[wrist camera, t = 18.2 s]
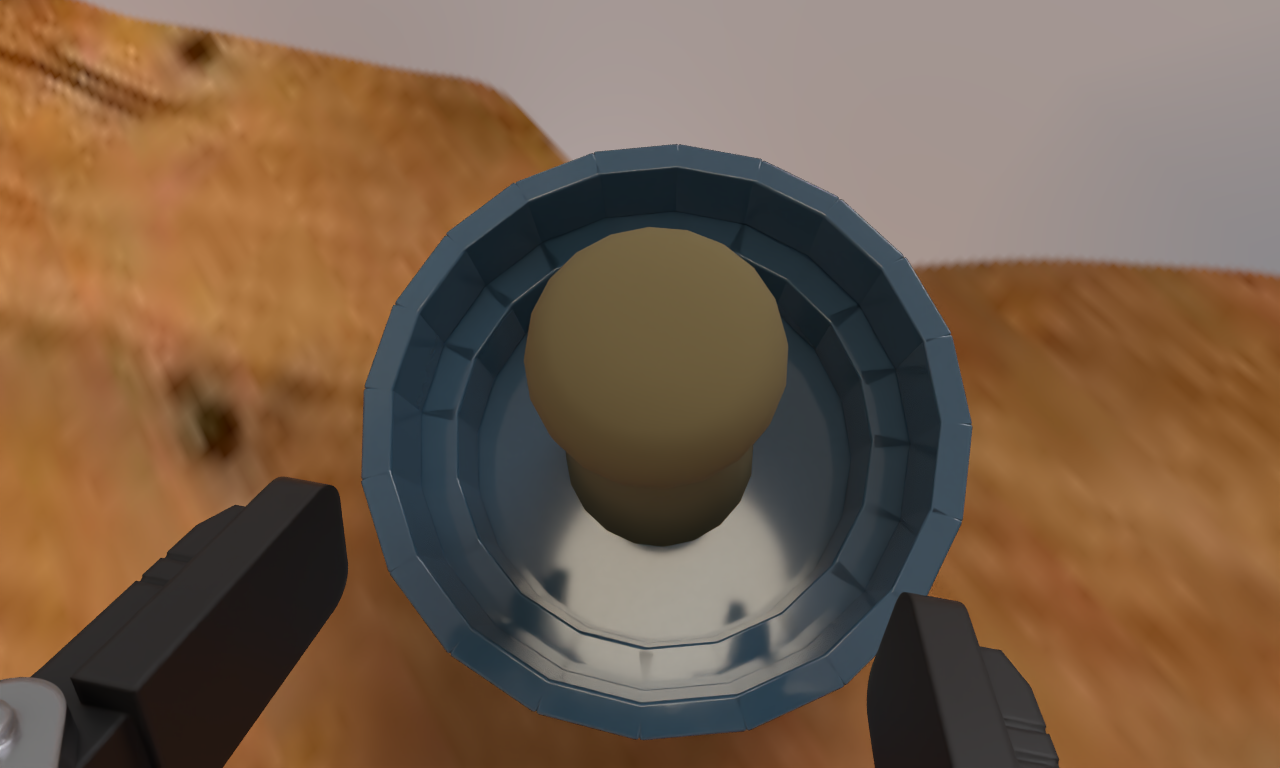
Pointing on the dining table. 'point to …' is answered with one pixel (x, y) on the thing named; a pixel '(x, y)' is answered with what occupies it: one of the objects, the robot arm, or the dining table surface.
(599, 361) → the olive peg figure
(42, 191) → the dining table surface
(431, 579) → the glazed bowl
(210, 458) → the dining table surface
